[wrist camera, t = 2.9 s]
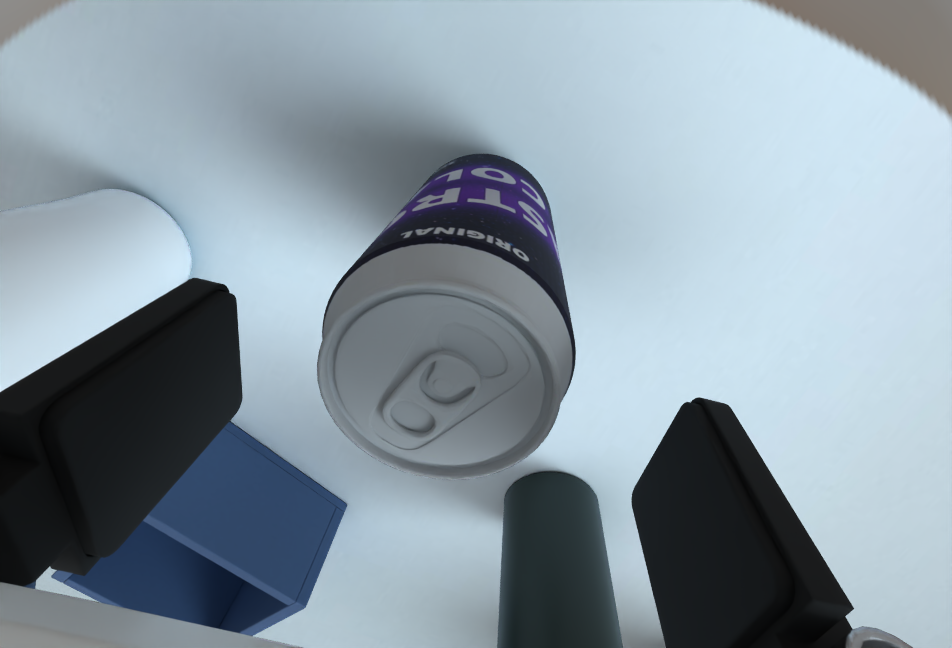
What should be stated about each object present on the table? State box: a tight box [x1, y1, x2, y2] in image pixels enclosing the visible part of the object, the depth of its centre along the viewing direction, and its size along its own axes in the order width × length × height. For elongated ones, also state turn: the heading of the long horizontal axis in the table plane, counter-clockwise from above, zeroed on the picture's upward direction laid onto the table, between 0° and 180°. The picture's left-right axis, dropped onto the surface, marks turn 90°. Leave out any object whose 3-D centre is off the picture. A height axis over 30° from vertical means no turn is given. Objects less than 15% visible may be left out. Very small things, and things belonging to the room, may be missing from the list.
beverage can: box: [317, 154, 576, 480], centre depth 14 cm, size 6×6×12 cm
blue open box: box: [51, 422, 347, 636], centre depth 27 cm, size 10×10×7 cm
